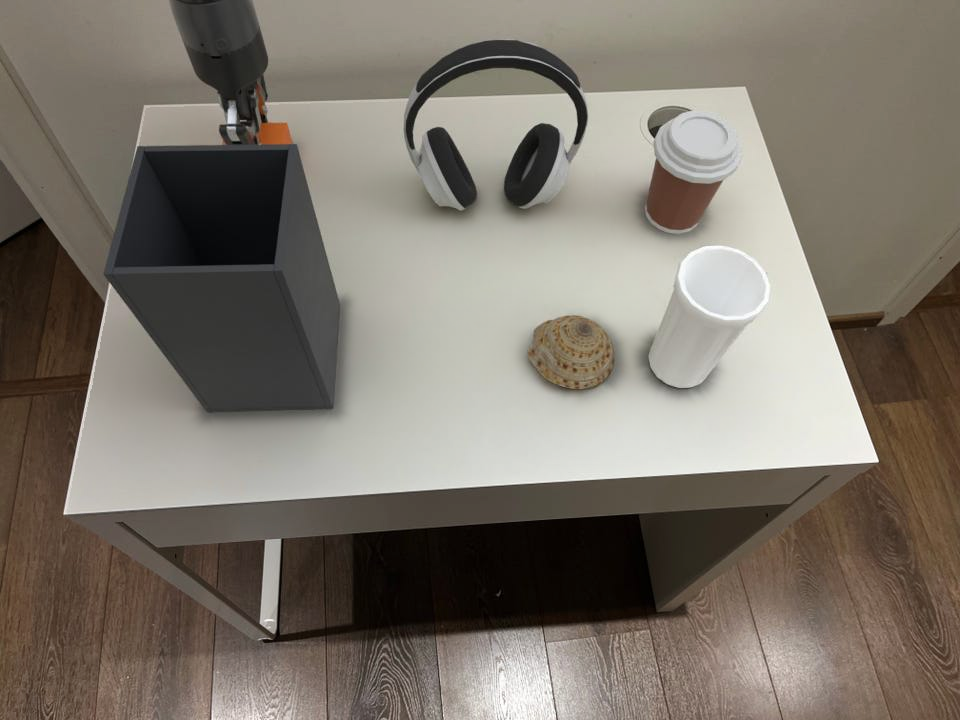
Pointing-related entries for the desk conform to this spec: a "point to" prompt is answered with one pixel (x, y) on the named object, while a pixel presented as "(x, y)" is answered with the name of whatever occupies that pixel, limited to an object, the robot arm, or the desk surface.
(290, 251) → the wastebasket
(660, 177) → the coffee cup
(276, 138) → the block
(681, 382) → the cup
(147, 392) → the desk surface
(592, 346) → the seashell
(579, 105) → the headphones
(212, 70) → the robot arm
